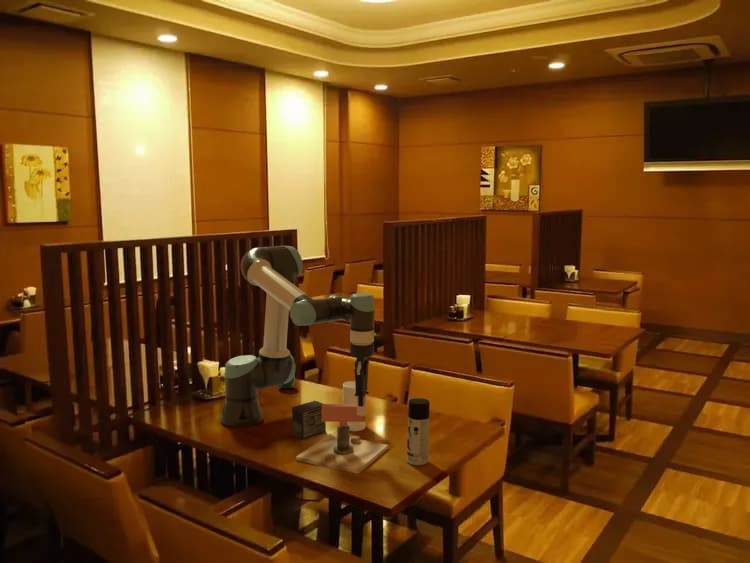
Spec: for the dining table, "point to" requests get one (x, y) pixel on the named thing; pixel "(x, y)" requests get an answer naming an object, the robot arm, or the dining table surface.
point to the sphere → (289, 384)
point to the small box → (308, 420)
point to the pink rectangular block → (341, 413)
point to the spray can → (418, 431)
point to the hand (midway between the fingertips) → (361, 414)
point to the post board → (343, 452)
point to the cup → (350, 398)
